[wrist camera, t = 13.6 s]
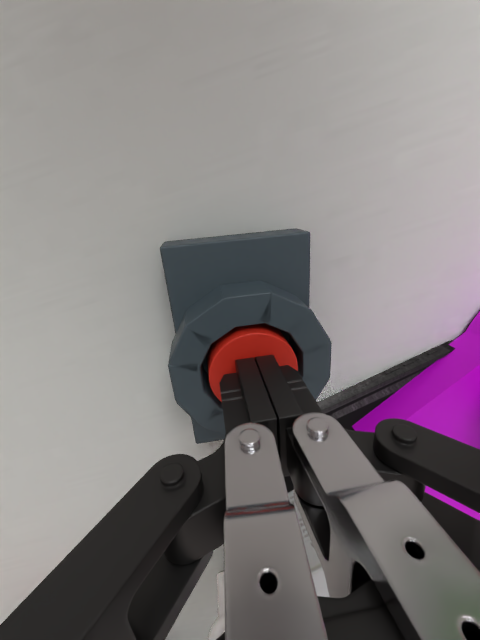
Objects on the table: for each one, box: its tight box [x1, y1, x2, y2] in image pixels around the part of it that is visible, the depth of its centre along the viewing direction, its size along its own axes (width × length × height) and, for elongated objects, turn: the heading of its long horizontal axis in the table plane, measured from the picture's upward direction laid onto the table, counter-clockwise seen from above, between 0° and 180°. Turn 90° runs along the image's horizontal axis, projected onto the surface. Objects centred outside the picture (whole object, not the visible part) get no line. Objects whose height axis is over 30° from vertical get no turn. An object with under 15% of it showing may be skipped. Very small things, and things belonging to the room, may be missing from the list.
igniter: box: [160, 229, 331, 444], centre depth 13 cm, size 10×6×4 cm, turn 5°
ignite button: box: [207, 323, 298, 402], centre depth 12 cm, size 4×4×2 cm
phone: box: [284, 340, 456, 493], centre depth 18 cm, size 8×1×15 cm
